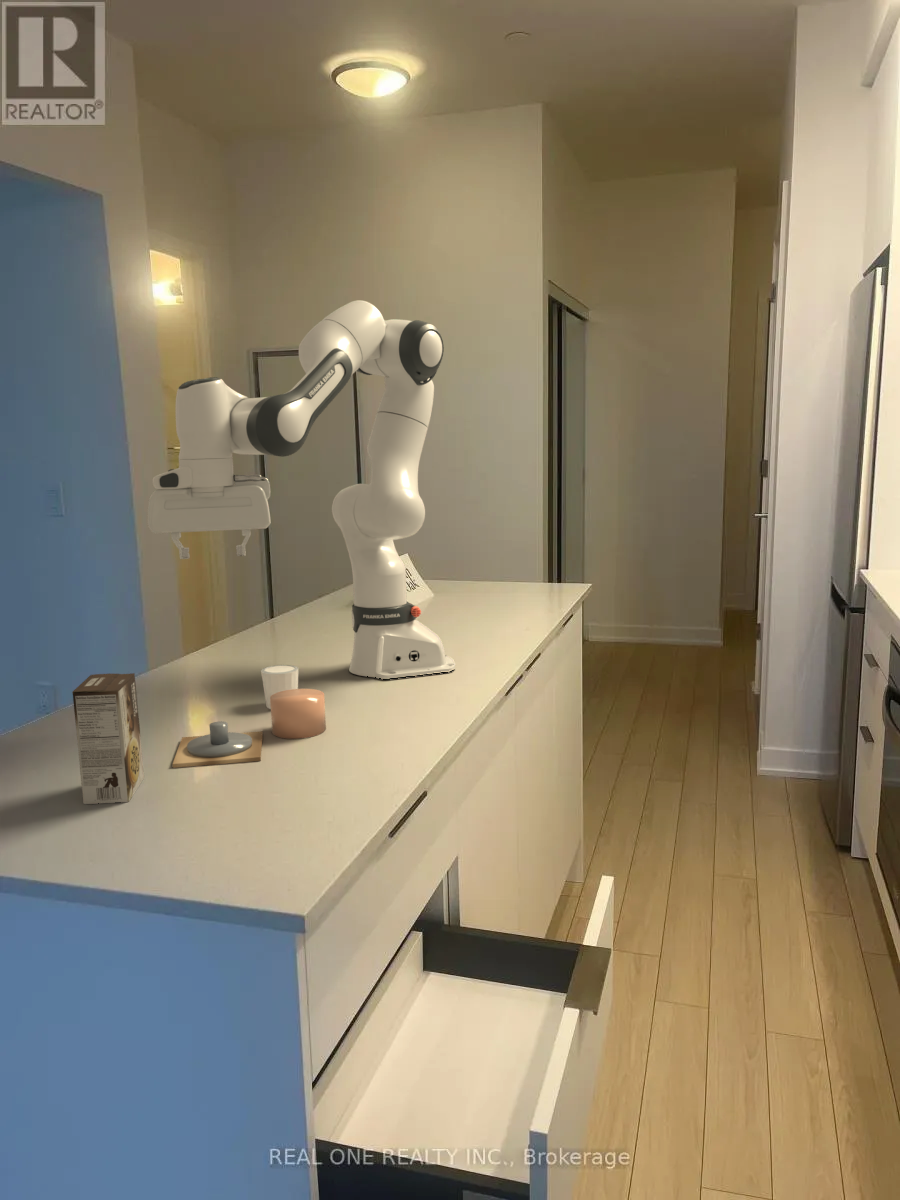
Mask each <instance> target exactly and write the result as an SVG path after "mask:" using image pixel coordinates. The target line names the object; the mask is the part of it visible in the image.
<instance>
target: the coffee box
mask: <svg viewBox="0 0 900 1200" xmlns="http://www.w3.org/2000/svg"><path fill="white" fill-rule="evenodd" d="M71 694H72V703H73V711H74V720H75V731H76V741H77V751H78V753H77V754H78V762H79V772H80V773H79V774H80V784H81V792H82V802H83V805H96V804H98V803H99V804H115V802H121V803H130V800H132V798H133V796H134V794H135V793H136V791H137V790H138V789H139V787H140V785H141V784H142V782H143V781H144V779H145V773H144V771H145V770H144V761H143V760H144V759H143V750H142V741H141V728H140V718H139V708H138V707H139V706H138V697H137V695H138V694H137V685H136V676H135V672H133V673H132V672H131V673H94V674H90V675H89V676H87V678H86V679H84V680H83V681H82V682H81V683H80V684H79V685H78V686H77V687H76V688H75V689H73V690H72V691H71Z"/></svg>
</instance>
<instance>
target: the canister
mask: <svg viewBox="0 0 900 1200" xmlns="http://www.w3.org/2000/svg"><path fill="white" fill-rule="evenodd" d="M325 699H326V698H325V693H324V692H323V691H321V690H319V689H314V688H298V689H291V690H285V691H281V692H277V693H275V694H273V695H272V696H271V697H270V705H271V709H270V718H271V719H270V720H271V733H272V735H273V736H275V737H277V738H281V739H289V740H290V739H291V740H296V739H298V740H299V739H306V738H307V739H308V738H311V737H315V736H319V735H321V734H323V733H324V732H325V731H326V730H327V725H326V724H327V722H326V718H327V717H326V704H325V703H326V701H325Z"/></svg>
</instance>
